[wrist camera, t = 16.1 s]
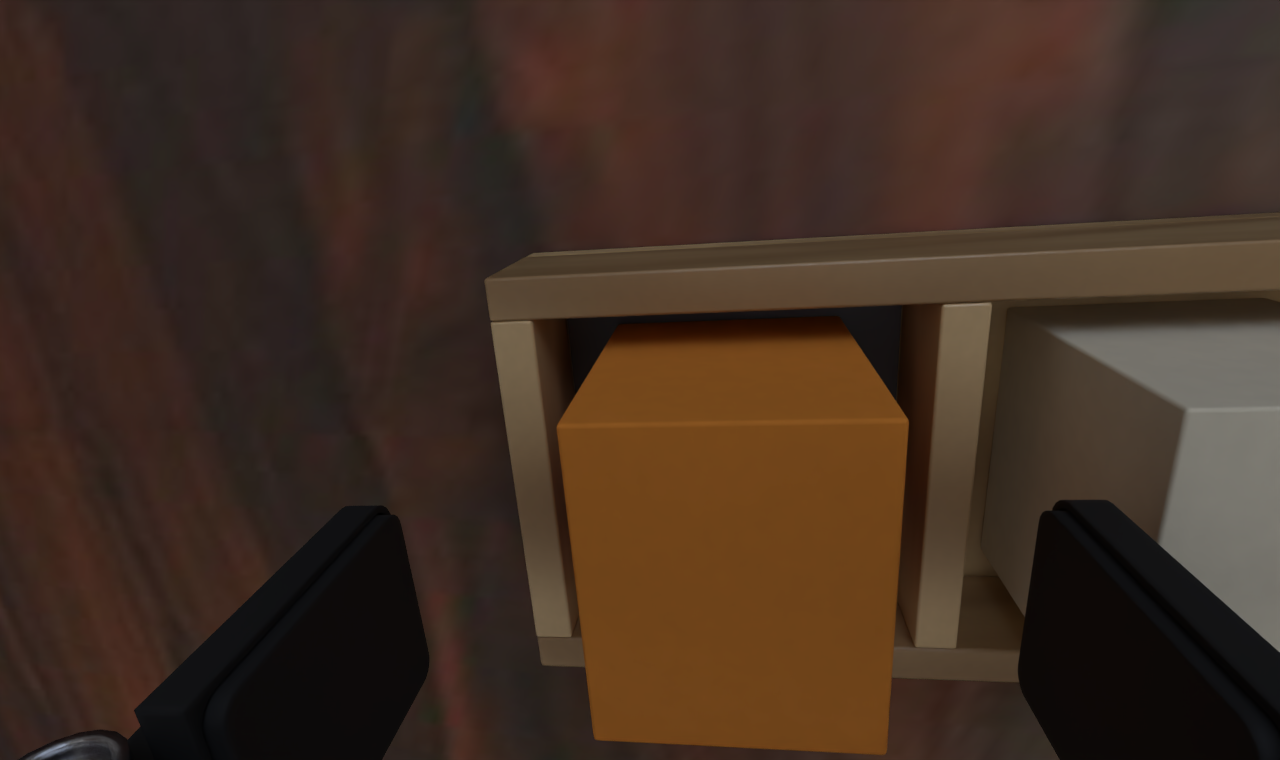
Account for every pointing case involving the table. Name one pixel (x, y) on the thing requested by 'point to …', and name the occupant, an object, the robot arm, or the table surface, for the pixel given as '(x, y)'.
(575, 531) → the orange block
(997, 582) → the wooden frame
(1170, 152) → the table surface
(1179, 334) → the cream block
